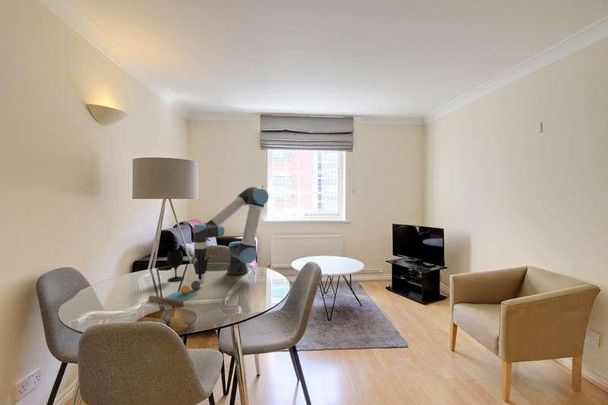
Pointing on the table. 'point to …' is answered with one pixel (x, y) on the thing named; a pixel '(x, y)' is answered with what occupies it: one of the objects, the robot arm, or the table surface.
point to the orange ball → (185, 289)
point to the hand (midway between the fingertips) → (201, 283)
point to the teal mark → (181, 296)
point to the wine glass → (175, 263)
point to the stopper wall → (166, 301)
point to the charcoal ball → (195, 285)
